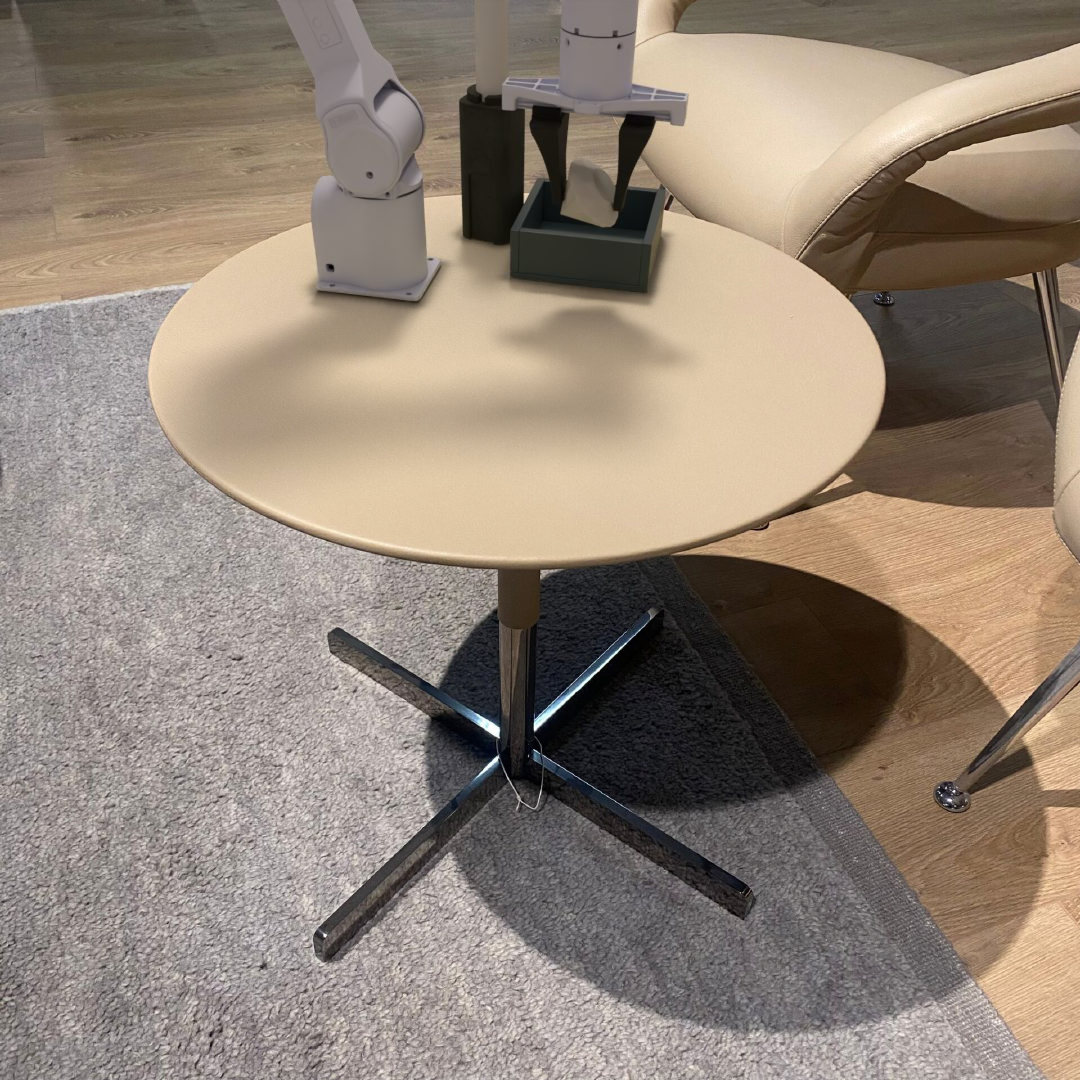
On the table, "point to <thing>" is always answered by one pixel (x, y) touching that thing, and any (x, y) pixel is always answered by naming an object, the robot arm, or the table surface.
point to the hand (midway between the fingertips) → (588, 203)
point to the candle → (491, 135)
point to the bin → (587, 242)
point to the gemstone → (589, 194)
